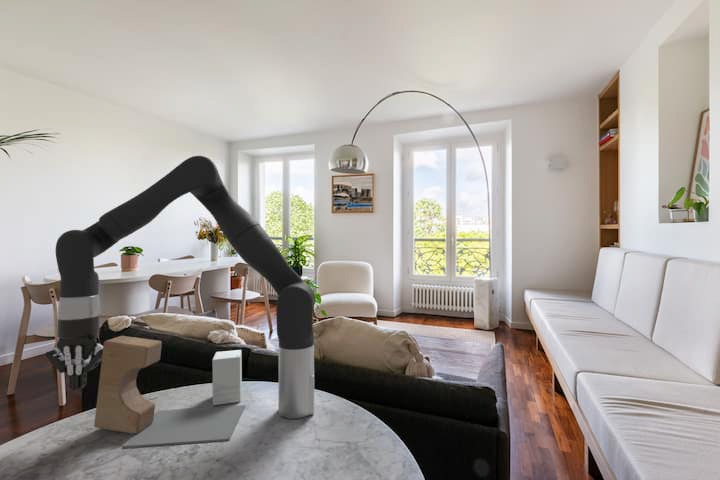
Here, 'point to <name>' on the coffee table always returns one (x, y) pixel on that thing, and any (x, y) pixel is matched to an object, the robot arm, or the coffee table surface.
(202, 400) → the coffee table surface
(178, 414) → the mat
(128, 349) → the decorative block
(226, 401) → the supplement box
